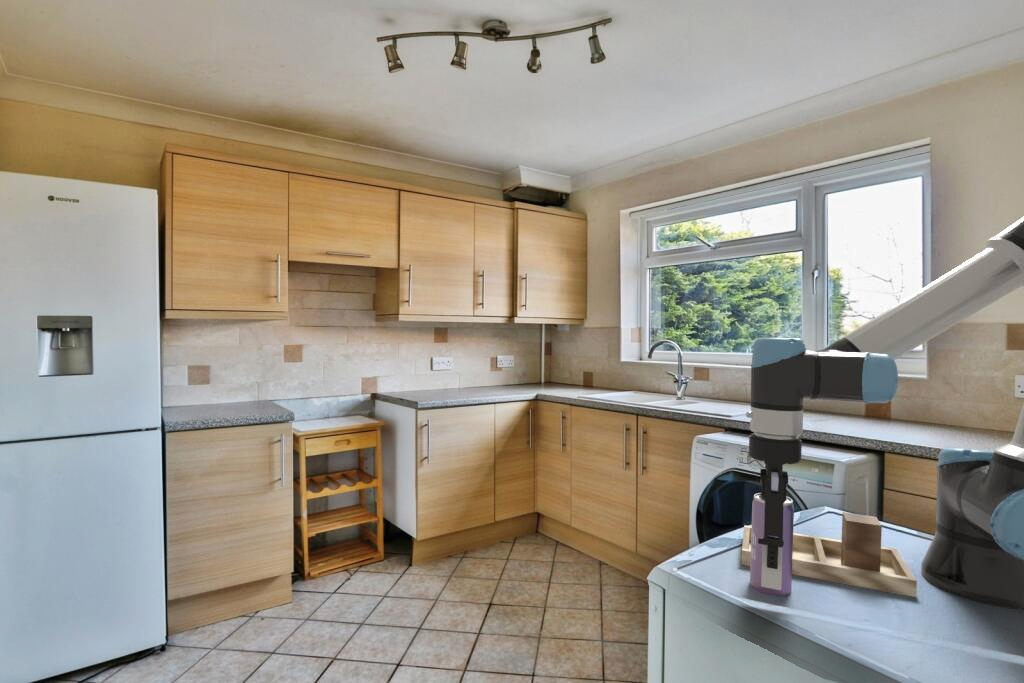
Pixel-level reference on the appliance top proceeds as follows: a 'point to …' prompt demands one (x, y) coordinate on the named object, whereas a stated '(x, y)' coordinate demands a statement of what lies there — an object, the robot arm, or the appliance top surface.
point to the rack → (825, 564)
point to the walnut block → (861, 542)
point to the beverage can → (756, 548)
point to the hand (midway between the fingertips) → (770, 572)
